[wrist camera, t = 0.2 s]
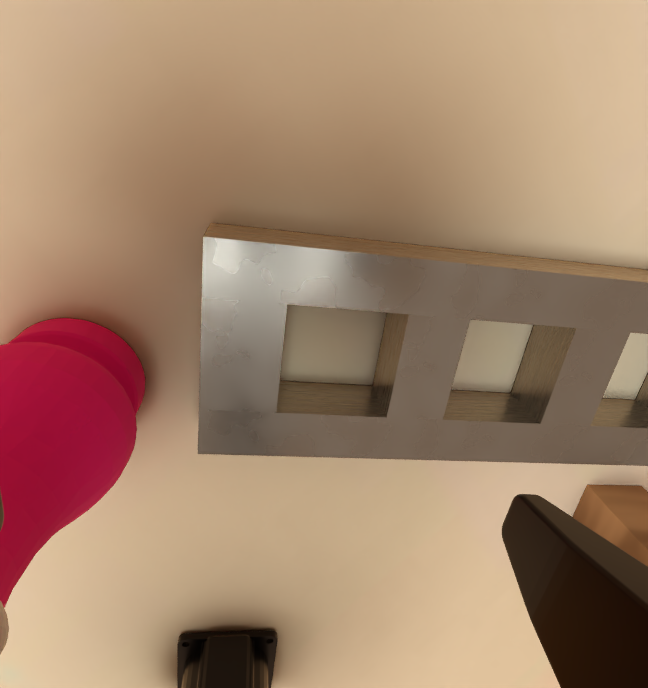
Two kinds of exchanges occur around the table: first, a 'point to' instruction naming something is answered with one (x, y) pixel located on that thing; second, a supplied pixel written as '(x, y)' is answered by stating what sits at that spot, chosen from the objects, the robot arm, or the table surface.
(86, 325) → the pepper mill
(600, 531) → the walnut peg
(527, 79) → the table surface
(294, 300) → the grey peg hole board
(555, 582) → the robot arm
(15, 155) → the table surface
